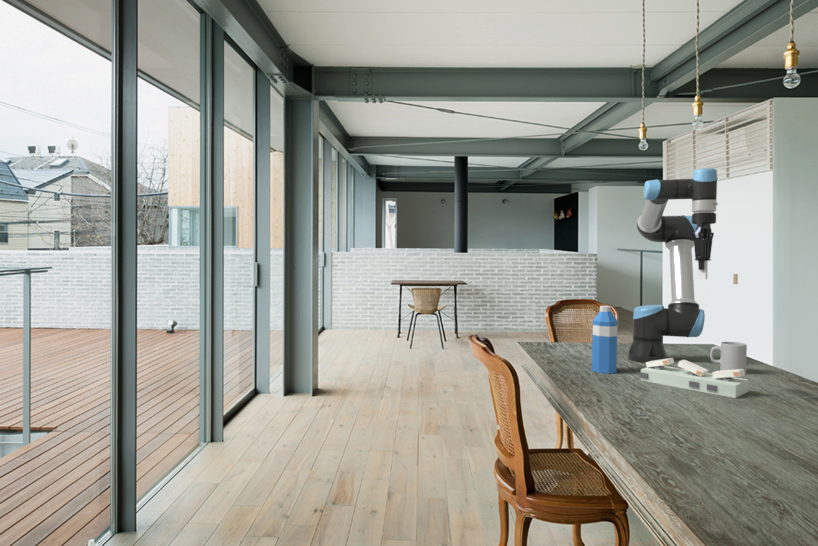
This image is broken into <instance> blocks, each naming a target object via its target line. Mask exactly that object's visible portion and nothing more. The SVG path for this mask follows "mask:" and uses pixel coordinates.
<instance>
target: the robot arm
mask: <svg viewBox="0 0 818 546" xmlns="http://www.w3.org/2000/svg"><path fill="white" fill-rule="evenodd" d="M718 177H719V176H718V170H717V169H716V168H713V167H707V168H698V169H695V170H693V173H692V178H680V179H679V178H677V179H676V178H675V179H673V178H672V179H653V180H652V179H651V180H646V181H645V182H644V187H643V198H644V200H646V201H645V205H644V207H643V210H642V214H640V215H639V217H638V218H637V221H636V229H637V231H638V233H639V234H640V235H641V236H642V237H643V238H644V239H646V240H648V241H650V242H654V243H665V244H664V245H665V248H667V249H668V250H669V267H670V270H669V271H670V272H669V273H670V288H671V289H670V290H671V291H670V292H671V293H670V295H671V301H670V302H669V303H668V305H667V307H666V308H665V306H664V304H646V305H645V304H644V305H640V306H637V307H636V306H635V308H634V309H633V314H632V315H633V316H632V319H633V323H632V325H633V327H632V328H633V329H632V342H631V345H630V347H629V351H628V353H627V354H628V357H627V358H628V359H629V360H631V361H634V362H638V363H646V362H649V361H654V360H661V359H667V358H668V354H667V352H666V349H665V345H664V337H676V338H677V337H679V338H680V337H681V338H698V337H700V336H701V334H702V332H703V329H704V326H705V320H706V319H705V318H706V316H705V311H704V309H702V308H700V304H699V303H698V302H697V301H696V300H695V284H694V269H693V267H694V266H693V253H692V252H693V251H692V250H693V247H694V258H695V259H694V261H697V280H707V279H708V267H709V265H708V262H710V261H711V260H712V259H711V255H712V254H711V253H712V247H713V238H714V235H715V233H714V232H712V228H711V225H713V224H716V223H717V213H715V212H716V211H717V206H718V205H719V203H718V202H717V197H718V196H717V193H718V179H719V178H718ZM669 200H692V201H691V202H692V203H691V212H692V214H691V215H684V214H682V215H663V214H664V211H665V208H666V206H667V204H668V201H669Z"/></svg>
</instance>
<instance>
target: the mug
mask: <svg viewBox="0 0 818 546" xmlns="http://www.w3.org/2000/svg"><path fill="white" fill-rule="evenodd" d="M747 346H748V345H747V343H745V342H744V343H742V342H739V341H738V342H737V341H722V342H721V343H720V345H716V346H713V347H711V349H710V351H709V358H710V361H711V362H712V363H713V364H716V365H719V371H720V370H735V369H744V372H745V375H746V374H747V354H748V353H747V351H748V348H747ZM715 351H719V352H720V358H719V359H715V358H714V352H715Z"/></svg>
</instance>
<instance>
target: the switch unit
mask: <svg viewBox="0 0 818 546" xmlns="http://www.w3.org/2000/svg"><path fill="white" fill-rule="evenodd" d="M639 378H640V381H641V382H643V381H644V382H649V383H654V384H658V385H662V386H668V387H669V386H670V387H674V388H680V389H684V390H689V391H693V392H701V393H705V394H710V395H716V396H722V397H727V398H731V399H732V398H733V399H736V398H739V397H741V396H743V395H745V394H746V393H749V379H747V378H742V377H724V378H713V374H712V373H709V372H707V374H706V375H704V376H699V375H697V374H694V373H692V372H690V371H688V370H685V369H683V368H681V367H672V366H669V365H668V366H667V365H661V366H654V367H647V366H646V367H643V368H641V369H640V371H639Z"/></svg>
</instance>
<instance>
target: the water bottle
mask: <svg viewBox="0 0 818 546" xmlns="http://www.w3.org/2000/svg"><path fill="white" fill-rule="evenodd" d="M591 349H592V353H591V354H592V356H591V357H592V359H591V360H592V361H591V367H592V368H591V371H592V372H594V373H598V374H608V375H611V374H617V367H618V366H617V365H618V364H617V361H618V319H617V318H616V316H615V315H614V314H613V312H612V306H611V305H599V312H598V314H597V315H596V316H595V317H594V319H592V348H591ZM610 373H611V374H610Z"/></svg>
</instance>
